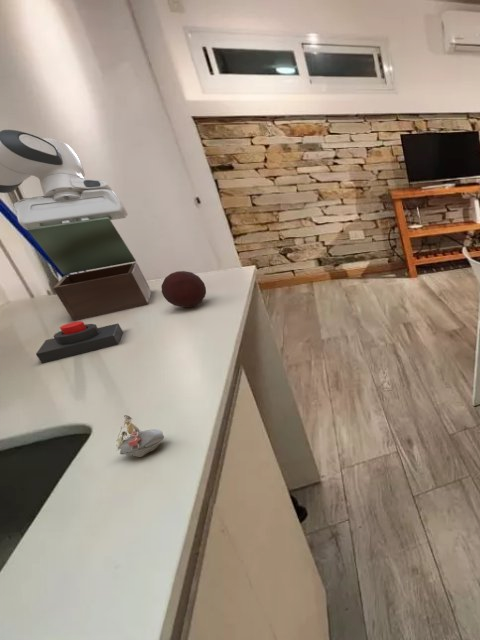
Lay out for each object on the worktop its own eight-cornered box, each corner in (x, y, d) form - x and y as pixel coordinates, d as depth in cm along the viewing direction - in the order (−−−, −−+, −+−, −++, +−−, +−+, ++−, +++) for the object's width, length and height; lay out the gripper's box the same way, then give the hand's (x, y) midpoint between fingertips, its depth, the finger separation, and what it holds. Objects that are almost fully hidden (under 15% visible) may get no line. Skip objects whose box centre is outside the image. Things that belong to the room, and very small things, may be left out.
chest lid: (108, 218, 122) (108, 216, 123) (27, 230, 114) (27, 228, 115) (136, 261, 133) (135, 259, 133) (63, 274, 125) (63, 272, 126)
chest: (148, 304, 127) (131, 272, 123) (73, 320, 119) (52, 287, 116) (151, 291, 137) (136, 262, 133) (82, 306, 129) (64, 275, 126)
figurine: (172, 437, 71) (152, 403, 68) (164, 453, 67) (143, 419, 65) (127, 449, 69) (105, 415, 66) (116, 467, 65) (93, 432, 62)
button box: (41, 363, 98) (30, 346, 96) (51, 348, 104) (40, 332, 102) (118, 344, 104) (109, 327, 102) (123, 331, 111) (114, 316, 109)
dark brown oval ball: (208, 295, 130) (193, 263, 126) (215, 306, 122) (200, 271, 118) (169, 305, 125) (152, 272, 121) (173, 317, 117) (155, 281, 113)
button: (62, 337, 100) (58, 329, 99) (66, 332, 103) (61, 324, 102) (85, 331, 102) (81, 324, 101) (88, 326, 105) (84, 319, 104)
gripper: (4, 192, 119) (17, 236, 116) (112, 180, 130) (126, 220, 127) (19, 207, 124) (32, 250, 121) (122, 195, 135) (136, 234, 132)
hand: (81, 235), depth 124 cm, fingers closed
